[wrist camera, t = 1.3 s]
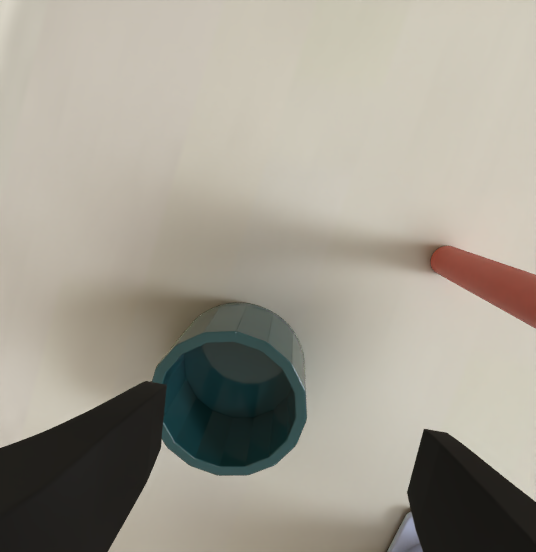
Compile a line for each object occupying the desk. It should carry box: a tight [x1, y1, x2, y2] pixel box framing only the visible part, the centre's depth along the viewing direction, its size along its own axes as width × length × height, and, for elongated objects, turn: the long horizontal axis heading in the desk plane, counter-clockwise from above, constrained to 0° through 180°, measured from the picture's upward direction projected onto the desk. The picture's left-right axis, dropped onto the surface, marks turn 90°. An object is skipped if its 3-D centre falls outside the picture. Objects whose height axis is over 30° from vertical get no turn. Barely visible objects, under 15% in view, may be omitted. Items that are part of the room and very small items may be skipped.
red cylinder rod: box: [431, 246, 536, 328], centre depth 15 cm, size 2×2×10 cm
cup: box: [152, 303, 307, 476], centre depth 19 cm, size 7×7×4 cm
